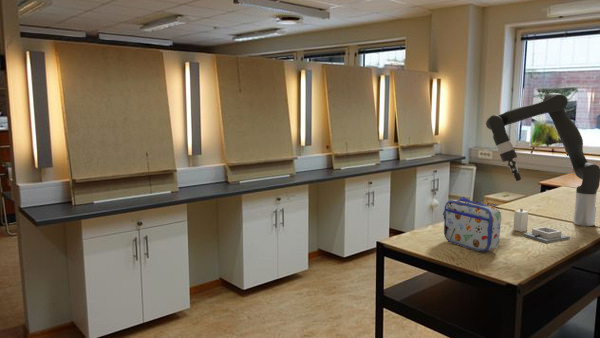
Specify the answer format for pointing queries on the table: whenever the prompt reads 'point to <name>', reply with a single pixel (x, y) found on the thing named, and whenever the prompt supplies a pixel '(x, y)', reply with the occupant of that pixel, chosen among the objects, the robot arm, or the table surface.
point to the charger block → (520, 220)
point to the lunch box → (472, 224)
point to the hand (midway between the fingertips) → (519, 180)
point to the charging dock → (546, 235)
